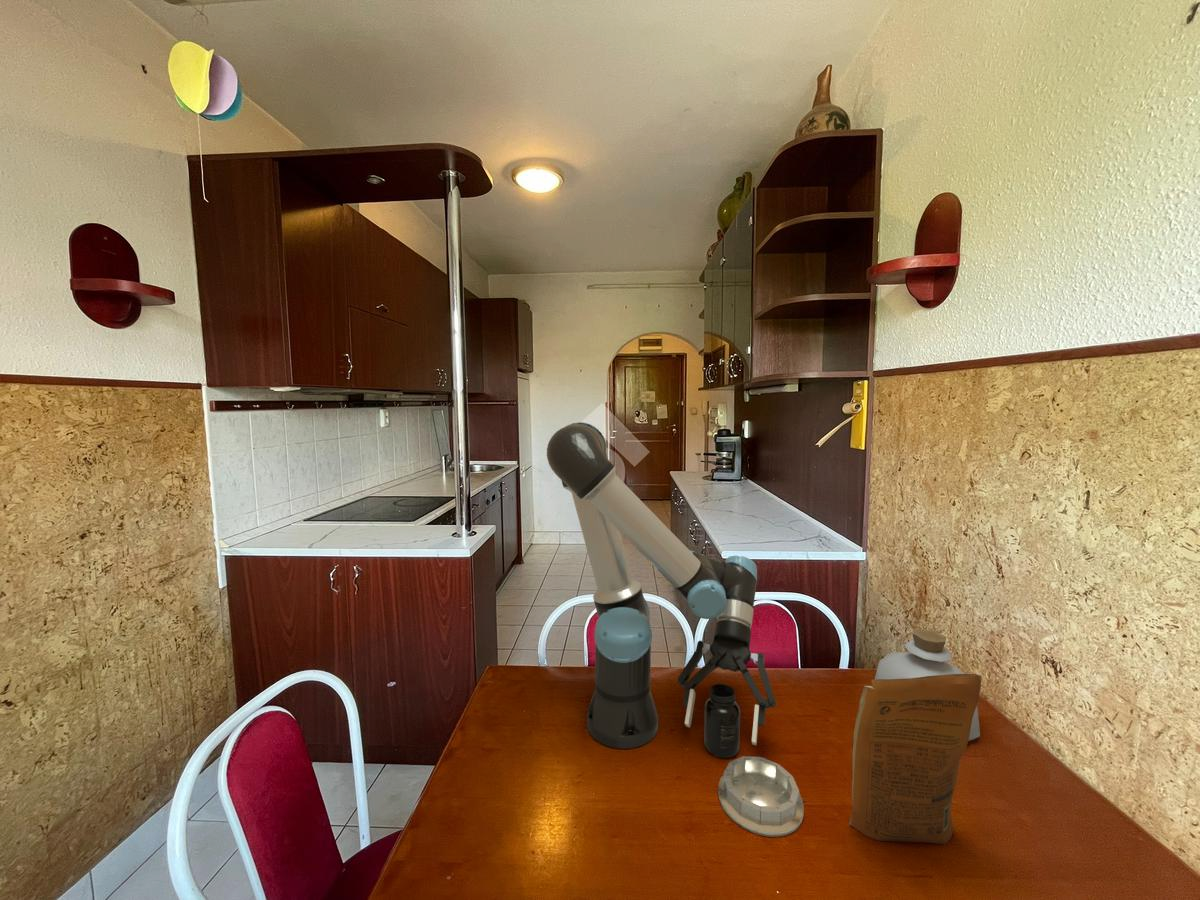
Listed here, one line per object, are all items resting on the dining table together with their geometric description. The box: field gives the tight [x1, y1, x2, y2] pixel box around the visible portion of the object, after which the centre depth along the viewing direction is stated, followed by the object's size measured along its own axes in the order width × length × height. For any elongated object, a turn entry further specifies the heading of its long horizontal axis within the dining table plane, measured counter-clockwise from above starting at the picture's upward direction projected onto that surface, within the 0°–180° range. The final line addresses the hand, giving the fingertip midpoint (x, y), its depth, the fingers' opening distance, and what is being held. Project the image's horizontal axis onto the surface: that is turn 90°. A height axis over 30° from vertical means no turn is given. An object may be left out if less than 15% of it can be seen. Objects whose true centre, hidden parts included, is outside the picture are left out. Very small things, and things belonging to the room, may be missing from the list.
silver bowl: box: [717, 755, 805, 838], centre depth 85 cm, size 14×14×4 cm
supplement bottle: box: [703, 683, 741, 759], centre depth 97 cm, size 7×7×12 cm
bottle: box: [874, 628, 981, 742], centre depth 106 cm, size 20×20×19 cm
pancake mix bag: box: [848, 673, 983, 845], centre depth 77 cm, size 7×19×28 cm, turn 87°
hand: (719, 734), depth 95 cm, fingers open, 12 cm apart
